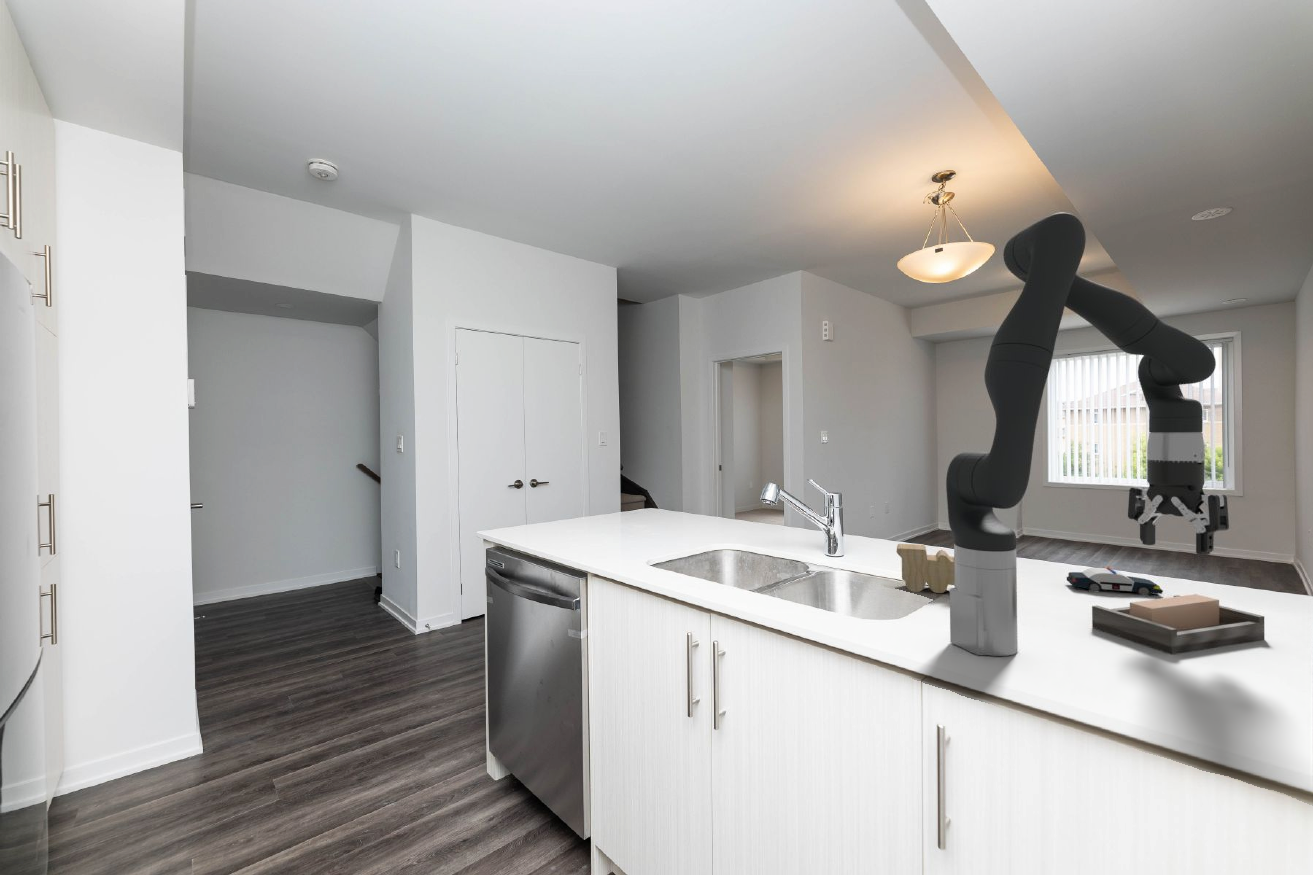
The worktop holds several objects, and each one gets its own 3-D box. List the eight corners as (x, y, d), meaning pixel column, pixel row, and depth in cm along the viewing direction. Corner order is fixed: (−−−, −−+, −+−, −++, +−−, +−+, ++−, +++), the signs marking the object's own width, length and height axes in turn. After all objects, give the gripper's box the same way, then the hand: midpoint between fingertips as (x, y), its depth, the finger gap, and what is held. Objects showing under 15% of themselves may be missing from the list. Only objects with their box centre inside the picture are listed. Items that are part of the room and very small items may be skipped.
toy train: (981, 598, 124) (980, 552, 124) (896, 590, 131) (896, 547, 131) (978, 591, 129) (978, 547, 129) (897, 584, 136) (896, 542, 136)
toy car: (1163, 598, 122) (1162, 575, 122) (1072, 591, 128) (1072, 569, 128) (1153, 591, 127) (1153, 569, 127) (1066, 585, 133) (1066, 564, 133)
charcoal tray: (1171, 654, 92) (1171, 629, 92) (1092, 627, 105) (1092, 605, 105) (1264, 639, 97) (1264, 616, 97) (1178, 615, 110) (1178, 595, 110)
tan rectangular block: (1152, 634, 97) (1151, 608, 97) (1130, 627, 101) (1129, 602, 101) (1219, 624, 101) (1219, 599, 101) (1195, 618, 105) (1195, 594, 105)
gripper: (1117, 456, 106) (1117, 543, 107) (1207, 460, 93) (1207, 559, 93) (1147, 456, 108) (1147, 540, 108) (1240, 459, 94) (1240, 556, 95)
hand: (1175, 549), depth 101 cm, fingers open, 8 cm apart
